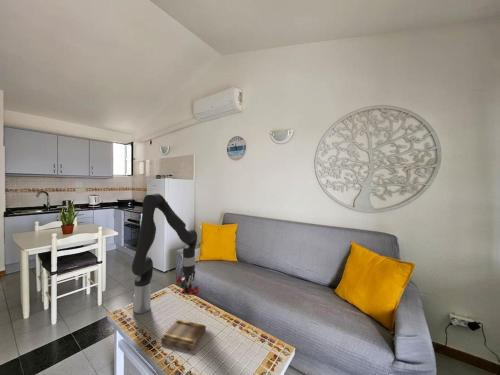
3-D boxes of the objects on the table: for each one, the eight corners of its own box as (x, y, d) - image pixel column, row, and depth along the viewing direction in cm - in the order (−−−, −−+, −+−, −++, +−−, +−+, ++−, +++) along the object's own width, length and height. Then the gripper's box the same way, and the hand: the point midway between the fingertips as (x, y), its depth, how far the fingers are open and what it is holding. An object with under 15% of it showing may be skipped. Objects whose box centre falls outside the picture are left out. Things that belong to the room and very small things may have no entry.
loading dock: (161, 343, 105) (161, 335, 105) (177, 324, 119) (177, 317, 119) (192, 351, 101) (192, 343, 101) (205, 331, 115) (205, 324, 115)
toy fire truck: (197, 296, 123) (198, 280, 123) (175, 294, 125) (176, 278, 125) (199, 293, 127) (200, 278, 126) (178, 291, 128) (178, 276, 128)
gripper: (189, 258, 133) (188, 284, 134) (176, 267, 119) (175, 296, 120) (199, 259, 131) (199, 286, 132) (188, 268, 117) (187, 298, 118)
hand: (187, 290), depth 126 cm, fingers closed on toy fire truck, 3 cm apart
